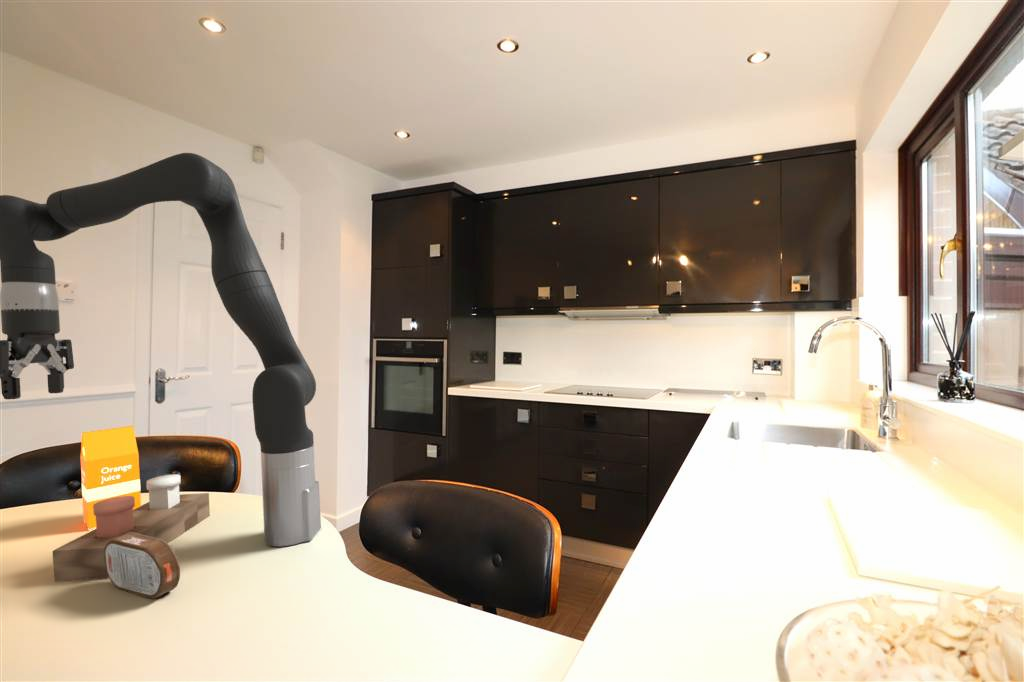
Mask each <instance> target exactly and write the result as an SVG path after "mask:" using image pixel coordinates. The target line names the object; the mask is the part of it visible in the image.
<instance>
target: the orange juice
mask: <svg viewBox="0 0 1024 682" xmlns="http://www.w3.org/2000/svg"><path fill="white" fill-rule="evenodd" d="M136 439H137V438H136V435H135V429H134V425H128V426H127V425H126V426H121V427H114V428H112V427H111V428H107V429H105V428H104V429H99V430H91V431H85V432H81V442H80V444H81V446H80V471H81V473H80V475H81V496H82V512H83V513H82V514H83V515H82V516H83V522H84V521H85V523H86V525H87V526H88V528H89V529H91V528H94V527H96V516H95V515H94V514H93V505H94V504H95V503H97V502H99V501H102V500H106V499H109V498H114V497H120V496H134V497H135V507H133V510H134V509H136V508H138V507H140V506H142V503H141V502H142V501H141V500H142V499H141V498H142V497H141V479H140V478H141V477H140V461H139V460H140V459H139V450H138V444H137V440H136ZM85 523H84V524H85ZM86 525H85V526H86ZM88 528H87V529H88Z"/></svg>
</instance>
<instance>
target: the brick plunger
mask: <svg viewBox="0 0 1024 682" xmlns="http://www.w3.org/2000/svg"><path fill="white" fill-rule="evenodd" d="M133 507H135V497H134V496H120V497H114V498H109V499H106V500H102V501H99V502H97V503H95V504H94V505H93V514H94V515H95V516H96V531H97V538H105V537H119V536H121V535H123V534H125V533H127V532H128V531H130V530H132V529H134V518H133Z"/></svg>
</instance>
